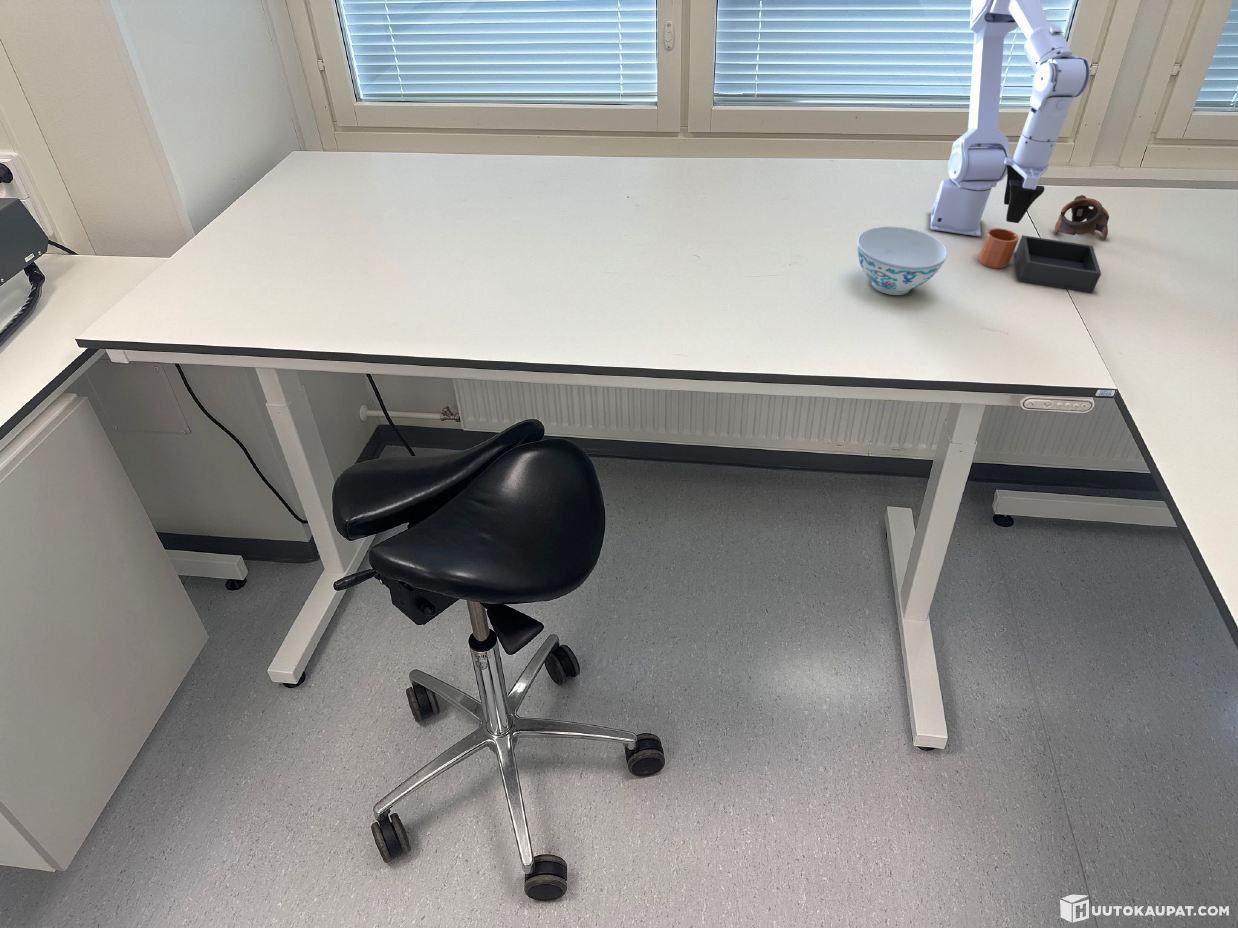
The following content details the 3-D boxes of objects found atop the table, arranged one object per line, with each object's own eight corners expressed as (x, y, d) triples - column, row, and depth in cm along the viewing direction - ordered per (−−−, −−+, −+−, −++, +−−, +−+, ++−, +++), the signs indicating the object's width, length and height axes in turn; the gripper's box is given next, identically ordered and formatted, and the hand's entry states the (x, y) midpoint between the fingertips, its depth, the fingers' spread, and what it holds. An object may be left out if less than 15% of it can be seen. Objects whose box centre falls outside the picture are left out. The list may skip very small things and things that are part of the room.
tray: (1019, 281, 145) (1026, 262, 143) (1015, 253, 154) (1022, 235, 151) (1092, 293, 143) (1101, 273, 140) (1084, 264, 151) (1092, 245, 149)
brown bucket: (977, 266, 149) (987, 239, 146) (977, 253, 153) (986, 226, 150) (1008, 271, 148) (1019, 243, 145) (1007, 258, 152) (1017, 231, 148)
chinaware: (887, 315, 135) (899, 273, 130) (831, 275, 145) (840, 235, 140) (952, 296, 141) (966, 256, 135) (894, 259, 150) (905, 220, 145)
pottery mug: (1115, 249, 157) (1115, 218, 151) (1061, 263, 161) (1059, 233, 155) (1099, 209, 164) (1099, 177, 158) (1048, 223, 168) (1045, 193, 162)
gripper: (1011, 119, 141) (986, 194, 150) (1017, 147, 131) (989, 226, 140) (1054, 124, 140) (1026, 199, 149) (1063, 153, 129) (1032, 232, 138)
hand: (1011, 213), depth 144 cm, fingers open, 7 cm apart
